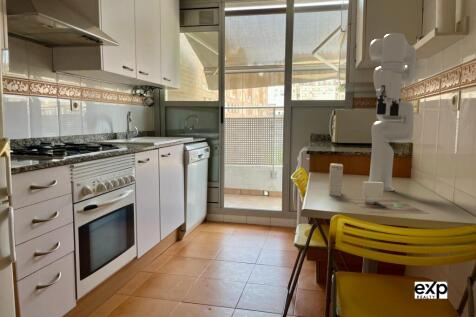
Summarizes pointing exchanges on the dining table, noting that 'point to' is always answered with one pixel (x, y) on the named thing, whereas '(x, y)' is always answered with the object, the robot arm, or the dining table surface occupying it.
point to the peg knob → (373, 192)
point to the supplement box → (335, 179)
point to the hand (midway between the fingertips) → (387, 115)
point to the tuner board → (390, 204)
